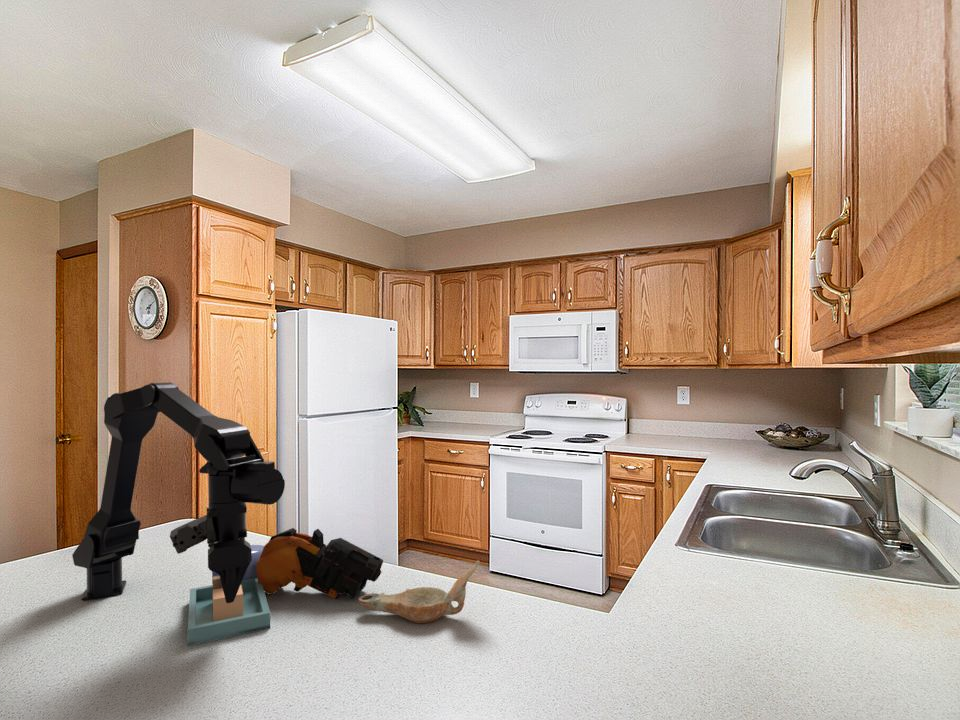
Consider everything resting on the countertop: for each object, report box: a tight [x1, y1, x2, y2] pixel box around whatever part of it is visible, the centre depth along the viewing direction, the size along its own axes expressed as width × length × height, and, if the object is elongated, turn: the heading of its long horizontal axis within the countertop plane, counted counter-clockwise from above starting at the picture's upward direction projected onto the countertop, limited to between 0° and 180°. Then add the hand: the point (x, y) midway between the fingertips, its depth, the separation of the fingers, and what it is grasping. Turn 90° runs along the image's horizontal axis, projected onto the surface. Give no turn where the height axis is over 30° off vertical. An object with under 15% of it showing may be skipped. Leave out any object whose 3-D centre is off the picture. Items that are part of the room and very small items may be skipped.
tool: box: [256, 527, 384, 599], centre depth 104 cm, size 8×23×15 cm, turn 79°
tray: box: [187, 578, 271, 647], centre depth 96 cm, size 18×12×2 cm, turn 27°
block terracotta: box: [213, 585, 243, 622], centre depth 93 cm, size 4×4×4 cm
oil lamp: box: [358, 560, 480, 624], centre depth 94 cm, size 9×21×10 cm, turn 81°
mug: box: [211, 544, 265, 585], centre depth 108 cm, size 7×10×7 cm
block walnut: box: [212, 576, 222, 590], centre depth 99 cm, size 4×4×4 cm
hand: (228, 592), depth 93 cm, fingers open, 9 cm apart
